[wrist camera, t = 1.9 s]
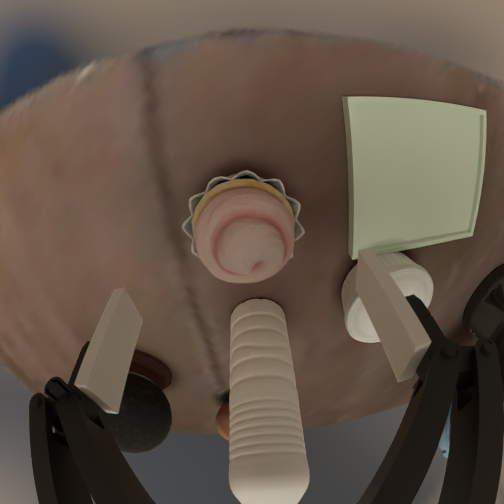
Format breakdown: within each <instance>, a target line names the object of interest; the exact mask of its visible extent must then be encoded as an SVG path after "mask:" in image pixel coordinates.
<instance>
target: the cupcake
mask: <svg viewBox="0 0 504 504" xmlns="http://www.w3.org/2000/svg"><path fill="white" fill-rule="evenodd" d="M189 209H190V213H191V216H190V217H189V218H188V219H187V220H186V221H185V222H184V223H183V225H182V229H183V231H184V232H185V233H186V234H187V235H188V236H189V237H190V238H191V239H192V244H191V250H192V253H193V254H194V255H195V256H196V257H199V258H200V260H201V262H202V263H203V264H204V265H205V266H206V268H207V269H208V270H209V271H210V272H211V273H212V274H213V275H214V276H215V277H216V278H218V279H221V280H224V281H226V282H232V283H253V282H258V281H262V280H265V279H268V278H270V277H272V276H273V275H275V274H276V273H277V272H279V271H280V270H281V269H282V268H283V267H284V266H285V264H286V263H287V262H288V260H289V259H291V258H293V254H294V250H293V248H294V242H295V241H297V240H298V239H299V238H300V237H301V236H302V235H303V234H304V233H305V231H304V228H303V227H302V225H301V224H300V223H299V221H298V220H297V217H298V215H299V212H300V203H299V202H298V201H297V200H296V199H293V198H291V197H288V196H286V194H285V189H284V185H283V183H282V182H281V180H279V179H274V178H273V179H263V178H261V177H259V176H257V175H256V174H255V173H253V172H251V171H248V170H245V171H242V172H239V173H237V174H233V175H230V176H228V177H223V176H220V177H216V178H213V179H212V180H211V181H210V182H209V183H208V185H207V188H206V191H204V192H202V193H199V194H196V195H194V196H193V197H191V198H190V199H189Z"/></svg>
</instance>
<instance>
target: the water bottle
mask: <svg viewBox="0 0 504 504" xmlns="http://www.w3.org/2000/svg"><path fill="white" fill-rule="evenodd" d="M230 345H231V348H230V381H229V386H230V395H229V410H230V416H229V419H230V423H229V427H230V431H229V435H230V439H229V443H230V447H229V451H230V455H229V458H230V464H229V483H230V487H231V490H232V492H233V494H234V495H235V496H236V498H237V499H238V500H239V501H240V502H241V504H298V502H299V501H300V499H301V498H302V496H303V494H304V493H305V491H306V489H307V487H308V484H309V468H308V462H307V458H306V456H305V455H306V450H305V448H304V447H305V442H304V440H303V439H304V435H303V432H302V431H303V428H302V424H301V417H300V409H299V400H298V392H297V389H296V380H295V374H294V371H293V361H292V357H291V350H290V345H289V338H288V332H287V326H286V320H285V314H284V311H283V309H282V308H281V307H280V306H279V305H278V304H276V303H275V302H273V301H271V300H267V299H261V300H260V299H251V300H247V301H245V302H244V303H241V304H239V305H238V306H237V307H236V308H235V309H234V311H233V313H232V315H231V336H230Z"/></svg>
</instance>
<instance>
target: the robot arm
mask: <svg viewBox="0 0 504 504" xmlns="http://www.w3.org/2000/svg"><path fill="white" fill-rule="evenodd" d="M355 289H356V291H357V293H358V295H359V297H360V299H361V301H362V303H363V305H364V307H365V310H366V312H367V314H368V316H369V318H370V320H371V322H372V324H373V326H374V329H375V331H376V333H377V335H378V337H379V339H380V342H381V344H382V346H383V348H384V351H385V353H386V355H387V358H388V360H389V362H390V365H391V367H392V369H393V372H394V374H395V377H396V379H397V382H398V383H399V382H402V381H405V380H408V379H410V378H412V377H413V376H414V374H415V372H417V374H418V376H419V378H418V380H417V382H416V383H415V385H414V386H413V389H414V392H413V394H412V397H411V400H410V402H409V405H408V408H407V410H406V413H405V415H404V417H403V420H402V422H401V424H400V427H399V429H398V431H397V434H396V436H395V438H394V440H393V442H392V444H391V446H390V448H389V450H388V452H387V454H386V456H385V458H384V460H383V462H382V464H381V465H380V467H379V469H378V471H377V472H376V474H375V476H374V478H373V479H372V481H371V483H370V484H369V486H368V488H367V489H366V491H365V492H364V494H363V496H362V497H361V499H360V500H359V501H358V503H357V504H411V503H412V501H413V500H414V498H415V496H416V494H417V492H418V490H419V488H420V486H421V484H422V482H423V480H424V478H425V476H426V473H427V471H428V469H429V467H430V464H431V462H432V460H433V457H434V455H435V452H436V450H437V447H438V444H439V447H440V449H441V450H442V453H443V455H444V456H445V457H446V458H448V460H447V466H446V472H445V477H444V482H443V486H442V491H441V495H440V498H439V502H438V504H504V265H502V266H500V267H498V268H497V269H496V270H494V271H493V272H492V273H491V274H490V275H489V276H488V277H487V278H486V279H485V280H484V281H483V282H482V284H481V285H480V286H479V287H478V289H477V290H476V292H475V293H474V294H473V296H472V298H471V299H470V301H469V303H468V305H467V307H466V309H465V312H464V316H463V323H464V325H465V326H466V328H467V329H468V331H469V332H470V333H471V334H473V335H476V336H477V337H478V338H479V340H478V341H477V342H476V344H475V346H458V345H457V344H456V343H455V342H453V341H450V340H447V339H446V338H445V336H444V334H443V333H442V331H441V329H440V328H439V326H438V325H437V323H436V321H435V320H434V318H433V317H432V316H431V314H430V312H429V310H427V307H426V306H425V304H424V303H423V301H422V300H421V299H419V298H418V297H417V296H415V295H414V294H413V295H409V296H406V297H405V296H404V295H403V293H402V292H401V290H400V289H399V287H398V286H397V284H396V283H395V281H394V280H393V278H392V277H391V275H390V274H389V272H388V271H387V269H386V268H385V266H384V265H383V264H382V262H381V261H380V259H379V258H378V257H377V255H376V254H375V252H374V251H373V250H372V248H366V249H361V250H358V263H357V276H356V286H355ZM142 323H143V319H142V318H141V316H140V314H139V312H138V311H137V309H136V307H135V305H134V304H133V302H132V300H131V298H130V296H129V295H128V293H127V291H126V289H125V288H118V289H114V291H113V293H112V295H111V297H110V299H109V301H108V303H107V305H106V307H105V310H104V312H103V314H102V316H101V318H100V321H99V323H98V325H97V327H96V330H95V332H94V334H93V337H92V339H91V341H87V343H86V344H85V345H84V347H83V348H82V349H81V352H80V354H79V358H78V359H77V362H76V363H77V364H75V367H74V370H73V372H72V375H71V378H70V380H69V383H68V385H67V384H66V383H65V382H64V381H63V380H62V379H61V378H59V377H53V378H51V379H50V380H49V381H48V382H47V384H46V386H45V389H44V394H46V395H47V396H48V397H49V398H47V397H45V396H44V395H43V394H41V393H37V394H35V395H34V396H33V397H32V398H31V400H30V405H29V428H30V445H31V457H32V466H33V474H34V480H35V486H36V491H37V496H38V501H39V504H93V502H92V499H91V496H92V498H93V499H94V501H95V503H96V504H155V502H154V501H153V500H152V498H151V497H150V496H149V494H148V493H147V492H146V490H145V489H144V487H143V486H142V484H141V483H140V482H139V480H138V478H137V477H136V475H135V474H134V472H133V471H132V469H131V468H130V466H129V464H128V463H127V461H126V459H125V458H124V456H123V454H122V453H121V451H120V449H119V447H118V446H117V444H116V442H115V440H114V438H113V436H112V434H111V432H110V431H109V429H108V427H107V425H106V423H105V420H104V418H103V416H102V415H101V413H100V412H99V409H100V408H102V409H103V410H104V411H105V412H107V413H114V414H118V413H119V408H120V404H121V400H122V395H123V391H124V387H125V383H126V379H127V375H128V372H129V368H130V364H131V360H132V357H133V353H134V350H135V346H136V343H137V339H138V336H139V333H140V330H141V326H142ZM52 427H53V428H54V429H55V433H53V430H52ZM90 494H91V496H90Z"/></svg>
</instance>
